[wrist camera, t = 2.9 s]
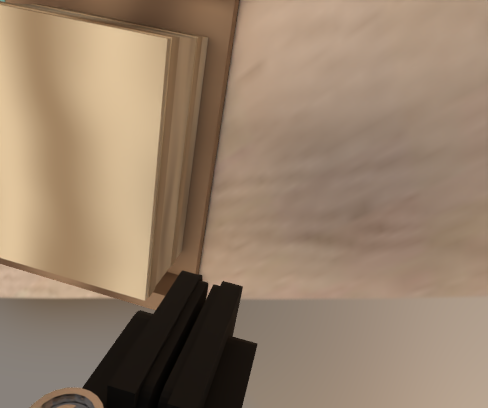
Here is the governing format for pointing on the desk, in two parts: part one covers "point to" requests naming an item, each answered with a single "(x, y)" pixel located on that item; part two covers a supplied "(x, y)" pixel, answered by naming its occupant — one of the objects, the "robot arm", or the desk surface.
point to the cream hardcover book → (96, 144)
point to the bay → (209, 121)
